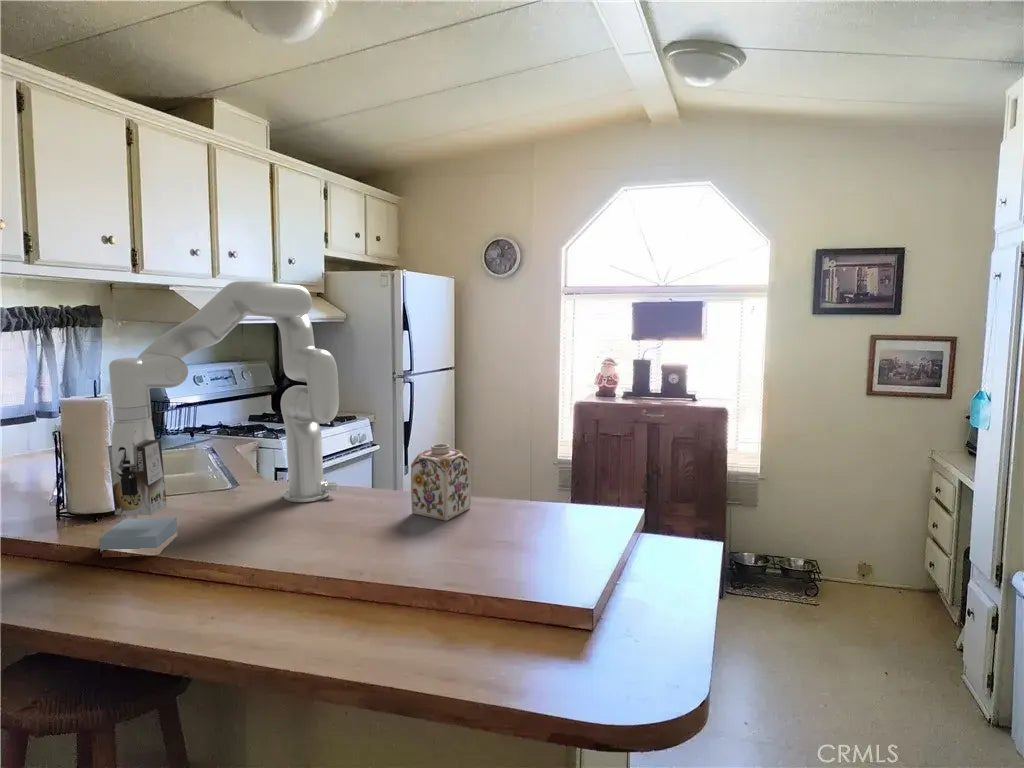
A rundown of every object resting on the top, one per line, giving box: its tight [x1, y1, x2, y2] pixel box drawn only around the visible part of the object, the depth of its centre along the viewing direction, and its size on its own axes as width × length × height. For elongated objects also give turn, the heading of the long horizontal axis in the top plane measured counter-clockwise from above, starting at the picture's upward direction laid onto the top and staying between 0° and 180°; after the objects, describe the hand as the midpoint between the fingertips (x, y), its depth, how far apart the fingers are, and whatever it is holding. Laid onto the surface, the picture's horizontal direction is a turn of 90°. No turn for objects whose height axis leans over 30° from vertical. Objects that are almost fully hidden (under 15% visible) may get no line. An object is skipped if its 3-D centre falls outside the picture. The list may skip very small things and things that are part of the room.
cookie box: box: [107, 439, 168, 516], centre depth 157 cm, size 9×6×16 cm
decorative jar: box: [410, 443, 472, 522], centre depth 181 cm, size 12×12×18 cm
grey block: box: [98, 517, 179, 552], centre depth 159 cm, size 12×12×5 cm
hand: (139, 489), depth 157 cm, fingers closed on cookie box, 6 cm apart
